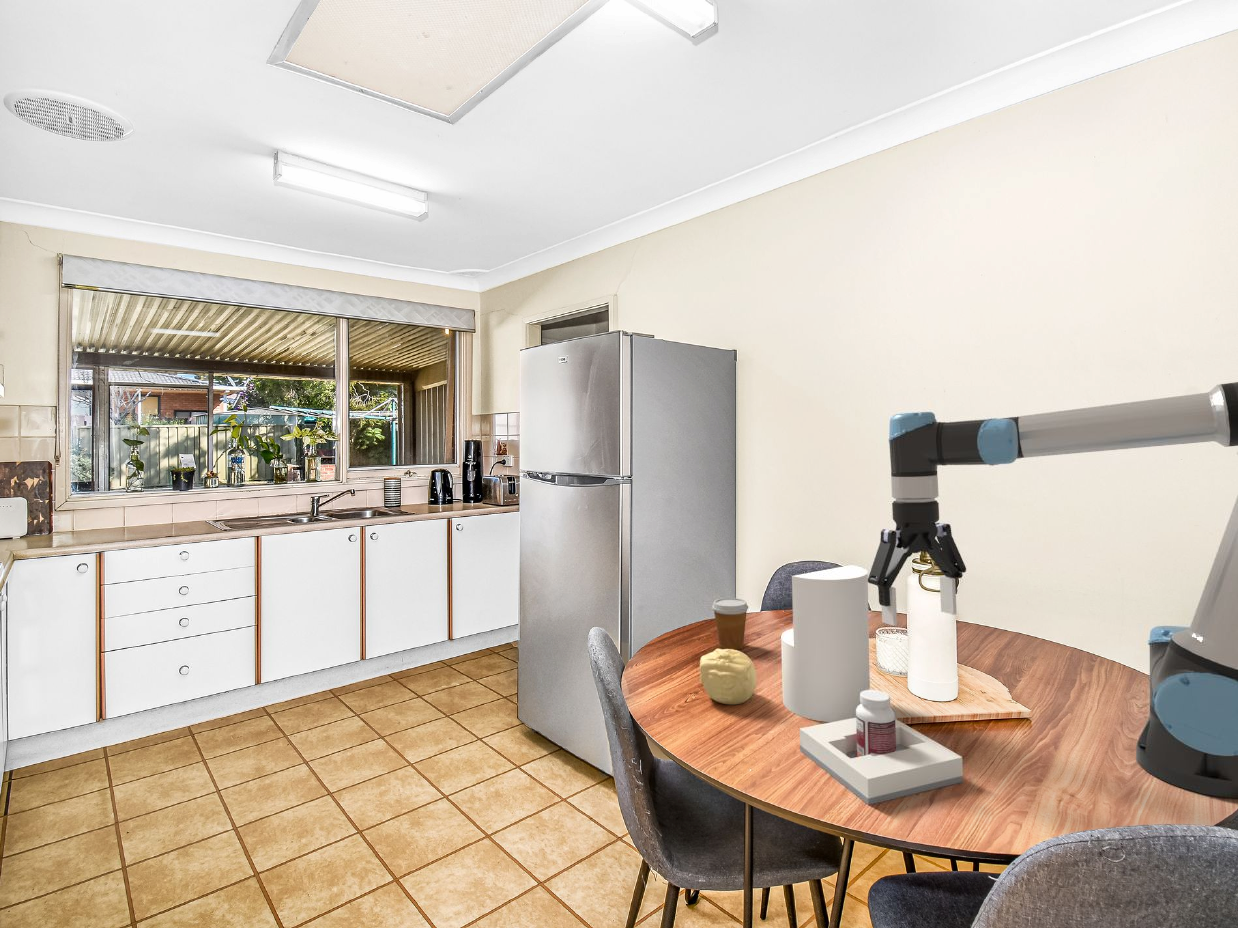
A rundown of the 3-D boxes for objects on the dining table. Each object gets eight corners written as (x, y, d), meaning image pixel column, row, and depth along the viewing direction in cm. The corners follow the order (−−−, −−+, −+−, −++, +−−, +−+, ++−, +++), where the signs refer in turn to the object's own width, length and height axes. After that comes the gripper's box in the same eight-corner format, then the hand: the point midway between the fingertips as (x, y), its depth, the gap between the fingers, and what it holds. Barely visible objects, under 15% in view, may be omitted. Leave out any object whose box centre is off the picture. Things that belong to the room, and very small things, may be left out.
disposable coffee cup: (710, 651, 167) (709, 605, 167) (716, 639, 176) (714, 596, 176) (747, 653, 164) (746, 607, 164) (751, 641, 173) (749, 598, 173)
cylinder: (889, 708, 129) (886, 571, 128) (828, 730, 121) (825, 583, 119) (823, 681, 144) (820, 558, 143) (765, 699, 136) (762, 568, 135)
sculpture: (694, 704, 134) (692, 654, 134) (713, 684, 145) (712, 637, 144) (747, 714, 129) (746, 661, 128) (763, 692, 139) (762, 643, 139)
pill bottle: (902, 758, 107) (901, 694, 107) (886, 772, 103) (885, 705, 103) (867, 746, 112) (865, 684, 111) (850, 759, 108) (848, 695, 107)
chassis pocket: (883, 733, 119) (883, 711, 119) (962, 781, 102) (962, 757, 101) (800, 750, 113) (799, 728, 113) (868, 804, 96) (867, 778, 96)
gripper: (950, 493, 121) (955, 604, 121) (843, 503, 112) (848, 623, 113) (985, 495, 114) (990, 613, 114) (873, 506, 105) (879, 634, 106)
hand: (919, 618), depth 114 cm, fingers open, 13 cm apart
